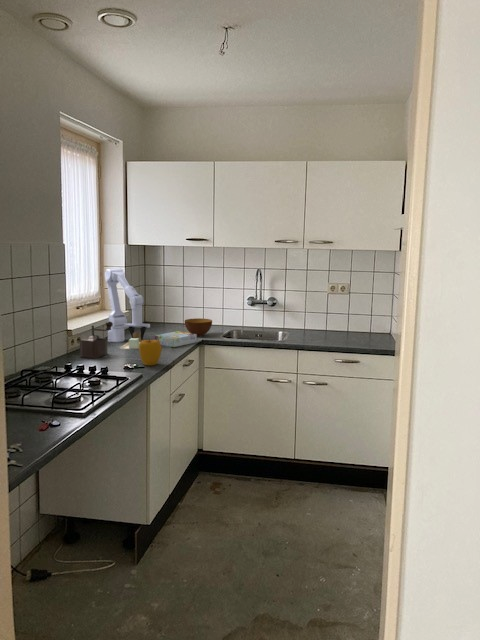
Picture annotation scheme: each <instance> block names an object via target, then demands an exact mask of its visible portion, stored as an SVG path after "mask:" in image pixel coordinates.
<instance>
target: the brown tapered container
mask: <svg viewBox="0 0 480 640" xmlns="http://www.w3.org/2000/svg"><path fill="white" fill-rule="evenodd" d="M105 326H106V328H105V329H102V328H95V326H94V325H91V333H92V334H91V335H90V336H87V337H86V338H82V339H79V356H80V358H87V359H93V360H96V359H99V358H102V357H106V356H107V355H108V337H100V336H99V335H96V334H95V332H94V331H100V332H106V331H107V332H108V331H109V330H111V327H112V326H113V323H112V322H110V321H109V320H108V321H106V322H105Z"/></svg>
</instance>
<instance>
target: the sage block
mask: <svg viewBox="0 0 480 640" xmlns="http://www.w3.org/2000/svg"><path fill="white" fill-rule="evenodd" d="M128 342H129V348H132V349H133V350H135V349H137V348H138V347H139V338H132V337H130V339H128ZM132 349H131V350H132ZM137 350H138V349H137Z"/></svg>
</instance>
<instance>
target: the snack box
mask: <svg viewBox="0 0 480 640" xmlns="http://www.w3.org/2000/svg"><path fill="white" fill-rule="evenodd" d="M154 340H157V341H159V342H160V344H161V346H166V347H171V348H177V347H181V346H186V345H191V344H195V343H197V342H198V341H197V334H192V333H190V332H185V331H179V330H177V331H171V332H166V333H161V334H155V335H154Z"/></svg>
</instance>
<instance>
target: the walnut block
mask: <svg viewBox="0 0 480 640" xmlns="http://www.w3.org/2000/svg"><path fill="white" fill-rule="evenodd" d="M133 338H139V342H141V341H143V340H144V339H143V340H141V331H134V333H133Z"/></svg>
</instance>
